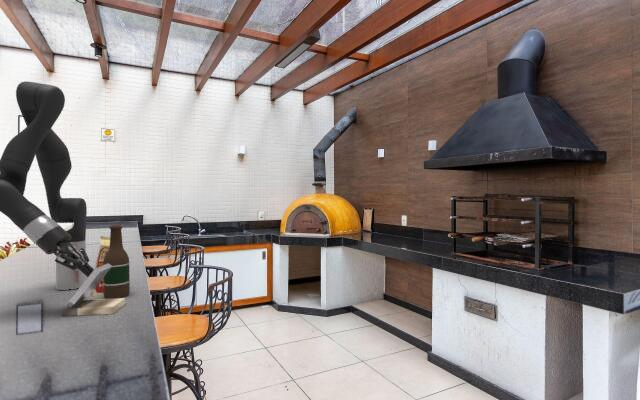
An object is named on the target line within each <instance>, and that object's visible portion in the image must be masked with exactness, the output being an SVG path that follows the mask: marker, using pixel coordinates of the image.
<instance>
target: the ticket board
mask: <svg viewBox="0 0 640 400" xmlns="http://www.w3.org/2000/svg"><path fill="white" fill-rule="evenodd" d="M125 306H126V297H124V298H115V299H106V298H99V299H98V298H97V299H84V300H82V301H81V302H79V303H77V304H75V305H74V306H72V307H68V306H65V307H64V308H62V309H61V317H72V316H73V317H75V316H77V317H78V316H92V315H112V314H115V313H116V312H118V311H119V310H121V308H123V307H125Z"/></svg>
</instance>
